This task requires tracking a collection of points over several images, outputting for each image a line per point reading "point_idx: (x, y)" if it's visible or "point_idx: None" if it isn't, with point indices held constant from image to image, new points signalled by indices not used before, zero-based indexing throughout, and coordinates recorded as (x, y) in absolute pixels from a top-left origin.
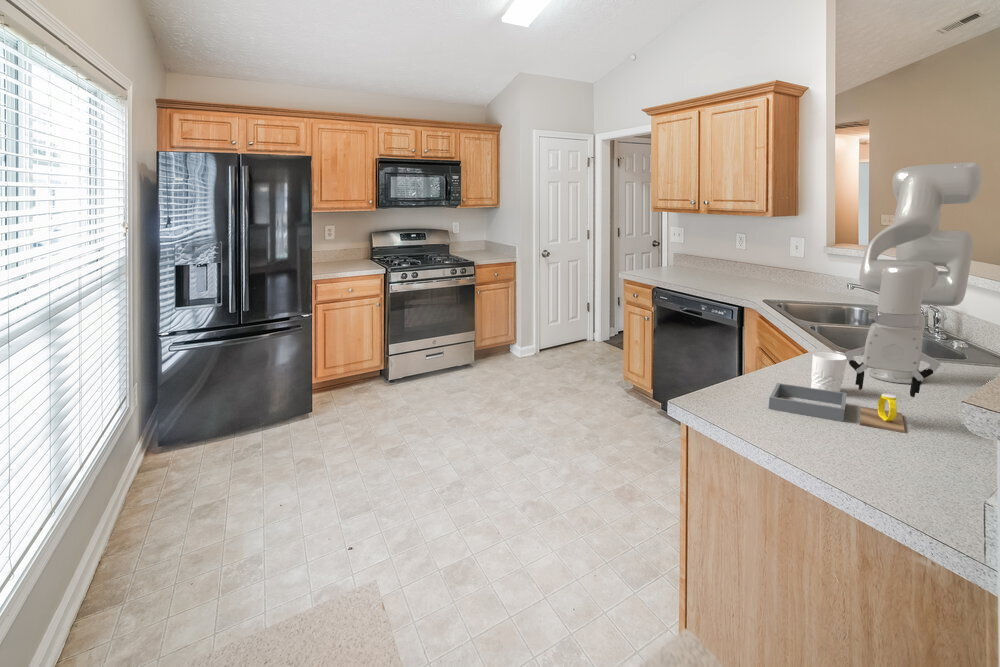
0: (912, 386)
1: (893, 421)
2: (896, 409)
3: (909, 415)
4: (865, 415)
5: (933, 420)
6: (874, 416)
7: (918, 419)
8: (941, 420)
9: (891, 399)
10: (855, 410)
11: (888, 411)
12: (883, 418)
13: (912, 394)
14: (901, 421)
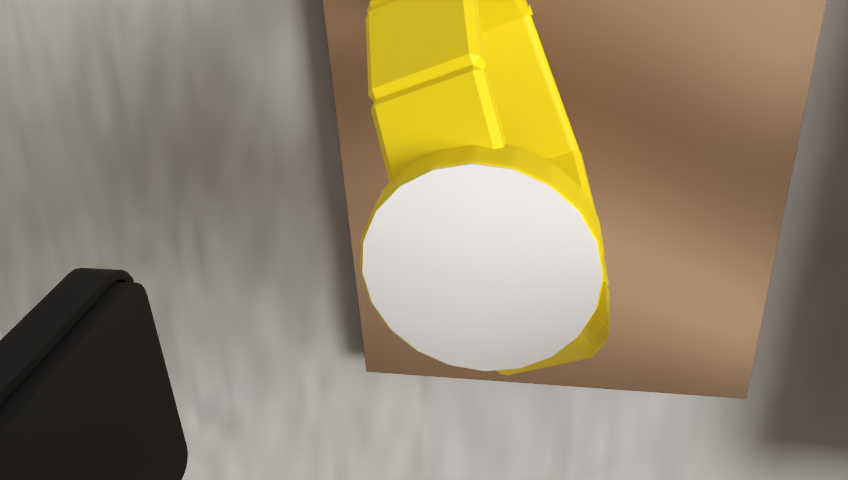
0: (9, 416)
1: None
2: (371, 1)
3: (312, 384)
4: (742, 110)
5: None
6: (634, 128)
7: (236, 314)
8: None
9: (439, 149)
10: (806, 312)
11: None
12: (539, 56)
13: (90, 289)
14: (351, 101)
